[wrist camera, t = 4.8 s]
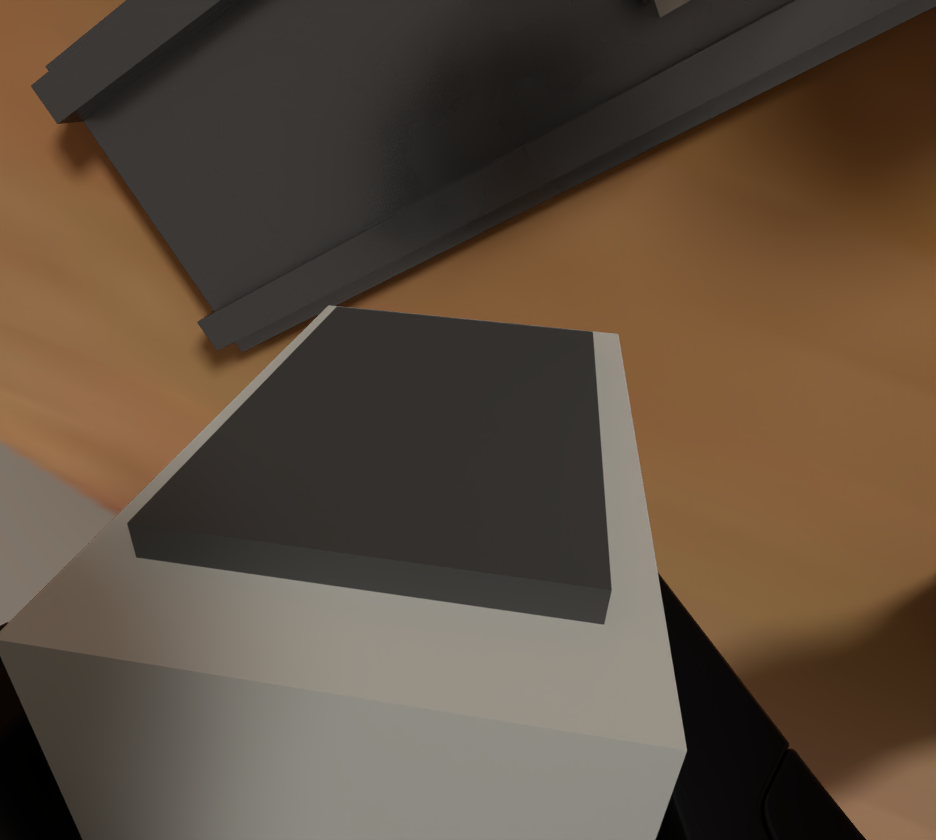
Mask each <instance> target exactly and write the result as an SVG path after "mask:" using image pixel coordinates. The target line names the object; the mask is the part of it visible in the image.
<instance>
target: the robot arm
mask: <svg viewBox="0 0 936 840" xmlns="http://www.w3.org/2000/svg"><path fill="white" fill-rule="evenodd" d="M658 577H659V584H660V590H661V596H662V602H663V608H664V614H665V620H666V626H667V632H668V638H669V644H670V650H671V656H672V662H673V668H674V674H675V680H676V686H677V693H678V699H679V705H680V711H681V717H682V723H683V729H684V735H685V741H686V747H687V752H686V755H685V758H684V761H683V764H682V767H681V769H680V772H679V775H678V778H677V781H676V783H675V786H674V789H673V792H672V795H671V798H670V800H669V803H668V806H667V809H666V812H665V814H664V817H663V820H662V823H661V826H660V829H659V831H658V834H657V837H656V840H866V839H865V838H864V837H863V835H862V834H861V833H860V832H859V831H858V829H857V828H856V827H855V826H854V825H853V823H852V822H851V821H850V820H849V818H848V817H847V816H846V815H845V813H844V812H843V811H842V810H841V808H840V807H839V806H838V805H837V803H836V802H835V801H834V800H833V798H832V797H831V796H830V795H829V793H828V792H827V791H826V790H825V788H824V787H823V786H822V785H821V783H820V782H819V781H818V780H817V778H816V777H815V776H814V774H813V773H812V772H811V771H810V769H809V768H808V767H807V765H806V764H805V763H804V761H803V760H802V759H801V758H800V756H799V755H798V754H797V752H796V751H795V750H794V749H788V747H789V743H788V741H787V740H786V739H785V737H784V736H783V735H782V733H781V732H780V731H779V729H778V728H777V727H776V725H775V724H774V723H773V722H772V720H771V719H770V718H769V716H768V715H767V714H766V712H765V711H764V710H763V709H762V707H761V706H760V705H759V703H758V702H757V701H756V699H755V698H754V697H753V696H752V694H751V693H750V692H749V690H748V689H747V688H746V686H745V685H744V684H743V683H742V681H741V680H740V679H739V677H738V676H737V675H736V673H735V672H734V671H733V669H732V668H731V667H730V666H729V664H728V663H727V662H726V660H725V659H724V658H723V656H722V655H721V654H720V653H719V651H718V650H717V649H716V647H715V646H714V645H713V643H712V642H711V641H710V640H709V638H708V637H707V636H706V634H705V633H704V632H703V630H702V629H701V628H700V627H699V625H698V624H697V623H696V621H695V620H694V619H693V617H692V616H691V615H690V613H689V612H688V611H687V610H686V608H685V607H684V606H683V604H682V603H681V602H680V600H679V599H678V598H677V597H676V595H675V594H674V593H673V591H672V590H671V589H670V587H669V586H668V585H667V584H666V582H665V581H664V580H663V578H662V577H661V576H660V574H659V573H658ZM8 623H9V622H7V623H5V624H3V625H1V626H0V631H1V630H2V629H3V628H4V627H5V626H6V625H7V624H8ZM787 749H788V750H787ZM0 840H82V838H81V835H80V833H79V831H78V829H77V826H76V824H75V822H74V820H73V817H72V815H71V813H70V811H69V809H68V806H67V804H66V802H65V800H64V797H63V795H62V793H61V791H60V788H59V786H58V784H57V782H56V780H55V777H54V775H53V773H52V771H51V768H50V766H49V764H48V762H47V759H46V757H45V755H44V753H43V751H42V748H41V746H40V744H39V742H38V739H37V737H36V735H35V733H34V730H33V728H32V726H31V724H30V722H29V719H28V717H27V715H26V713H25V710H24V708H23V706H22V704H21V702H20V699H19V697H18V695H17V693H16V690H15V688H14V686H13V684H12V681H11V679H10V677H9V675H8V673H7V670H6V668H5V666H4V664H3V661H2V659H1V657H0Z"/></svg>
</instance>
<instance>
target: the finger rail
mask: <svg viewBox="0 0 936 840" xmlns="http://www.w3.org/2000/svg"><path fill="white" fill-rule="evenodd" d="M935 6H936V0H691V1H689V2H687V3H685V4H684V5H682V6H680V7H678V8H677V9H675V10H673V11H671V12H669V13H668V14H666V15H664V16H662V17H661V18H660V16H659V13H658V10H657V7H656V4H655V1H654V0H649V1H648V2H646V3H644V2H643V0H126V1H125V2H124V3H123V4H121V5H120V6H119V7H118V8H116V9H115V10H114V11H113V12H111V13H110V14H109V15H108V16H107V17H105V18H104V19H103V20H102V21H100V22H99V23H98V24H97V25H96V26H94V27H93V28H92V29H91V30H89V31H88V32H87V33H86V34H85V35H83V36H82V37H81V38H80V39H78V40H77V41H76V42H75V43H73V44H72V45H71V46H70V47H69V48H67V49H66V50H65V51H64V52H62V53H61V54H60V55H59V56H58V57H56V58H55V59H54V60H53V61H51V62H50V63H49V64H48V65H47V66H46V68H47V69H48V71H49V72H47V73H46V74H45V75H44V76H42V77H41V78H40V79H39V80H37V81H36V82H35V83H34V84H32V85H31V87H32V88H33V90H34V91H35V93H36V94H37V96H38V97H39V98H40V100H41V101H42V103H43V104H44V105H45V107H46V108H47V110H48V111H49V113H50V114H51V115H52V117H53V118H54V120H55V121H56V123H57V124H62V123H72V122H81V121H83V122H84V123H85V125H86V126H87V127H88V129H89V130H90V132H91V133H92V135H93V136H94V138H95V139H96V141H97V142H98V143H99V145H100V146H101V148H102V149H103V151H104V152H105V154H106V155H107V157H108V158H109V159H110V161H111V162H112V164H113V165H114V167H115V168H116V170H117V171H118V173H119V174H120V175H121V177H122V178H123V180H124V181H125V183H126V184H127V186H128V187H129V189H130V190H131V191H132V193H133V194H134V196H135V197H136V199H137V200H138V202H139V203H140V204H141V206H142V207H143V209H144V210H145V212H146V213H147V215H148V216H149V218H150V219H151V220H152V222H153V223H154V225H155V226H156V228H157V229H158V231H159V232H160V234H161V235H162V236H163V238H164V239H165V241H166V242H167V244H168V245H169V247H170V248H171V250H172V251H173V252H174V254H175V255H176V257H177V258H178V260H179V261H180V263H181V264H182V266H183V267H184V268H185V270H186V271H187V273H188V274H189V276H190V277H191V279H192V280H193V282H194V283H195V284H196V286H197V287H198V289H199V290H200V292H201V293H202V295H203V296H204V298H205V299H206V300H207V302H208V303H209V305H210V306H211V308H212V309H213V312H212V313H210V314H209V315H207V316H206V317H204V318H203V319H201V320H200V321H198V322H197V323H198V324H199V326H200V327H201V329H202V330H203V331H204V333H205V334H206V336H207V337H208V338H209V340H210V341H211V343H212V344H213V346H214V347H215V348H216V350H217V351H218V350H220V349H222V348H224V347H226V346H228V345H230V344H232V343H234V342H235V343H236V344H237V345H238V347H239V348H240V350H241V351H242V352H244V351H246V350H248V349H250V348H252V347H254V346H256V345H258V344H260V343H262V342H264V341H266V340H268V339H270V338H272V337H274V336H276V335H278V334H280V333H282V332H284V331H286V330H288V329H290V328H292V327H294V326H296V325H298V324H300V323H302V322H304V321H306V320H308V319H310V318H312V317H314V316H316V315H318V314H320V313H321V312H322V311H323V310H324V309H325V308H326V307H327V306H328V305H330V306H336V305H338V304H340V303H342V302H344V301H346V300H348V299H350V298H352V297H354V296H356V295H358V294H360V293H362V292H364V291H366V290H368V289H370V288H372V287H374V286H376V285H378V284H380V283H382V282H384V281H386V280H388V279H390V278H392V277H394V276H396V275H398V274H400V273H402V272H404V271H406V270H408V269H410V268H412V267H414V266H416V265H418V264H420V263H422V262H424V261H426V260H428V259H430V258H432V257H434V256H436V255H438V254H440V253H442V252H444V251H446V250H448V249H450V248H452V247H454V246H456V245H458V244H460V243H462V242H464V241H466V240H468V239H470V238H472V237H474V236H476V235H478V234H480V233H482V232H484V231H486V230H488V229H490V228H492V227H494V226H496V225H498V224H500V223H502V222H504V221H506V220H508V219H510V218H512V217H514V216H516V215H518V214H520V213H522V212H524V211H526V210H528V209H530V208H532V207H534V206H536V205H538V204H540V203H542V202H544V201H546V200H548V199H550V198H552V197H554V196H556V195H558V194H560V193H562V192H564V191H566V190H568V189H570V188H572V187H574V186H576V185H578V184H580V183H582V182H584V181H586V180H589V179H591V178H593V177H595V176H597V175H599V174H601V173H603V172H605V171H607V170H609V169H611V168H613V167H615V166H617V165H619V164H621V163H623V162H625V161H627V160H629V159H631V158H633V157H635V156H637V155H639V154H641V153H643V152H645V151H647V150H649V149H651V148H653V147H655V146H657V145H659V144H661V143H663V142H665V141H667V140H669V139H671V138H673V137H675V136H677V135H679V134H681V133H683V132H685V131H687V130H689V129H691V128H693V127H695V126H697V125H699V124H701V123H703V122H705V121H707V120H709V119H711V118H713V117H715V116H717V115H719V114H721V113H723V112H725V111H727V110H729V109H731V108H733V107H735V106H737V105H739V104H741V103H743V102H745V101H747V100H749V99H751V98H753V97H755V96H757V95H759V94H761V93H763V92H765V91H767V90H769V89H771V88H773V87H775V86H777V85H779V84H781V83H783V82H785V81H787V80H789V79H791V78H793V77H795V76H797V75H799V74H801V73H803V72H805V71H807V70H809V69H811V68H813V67H815V66H817V65H819V64H821V63H823V62H825V61H827V60H829V59H831V58H833V57H835V56H837V55H839V54H841V53H843V52H845V51H847V50H849V49H851V48H853V47H855V46H857V45H859V44H861V43H863V42H865V41H867V40H869V39H871V38H873V37H875V36H877V35H879V34H881V33H883V32H885V31H887V30H889V29H891V28H893V27H895V26H897V25H899V24H901V23H903V22H905V21H907V20H909V19H911V18H913V17H915V16H917V15H919V14H921V13H923V12H925V11H927V10H929V9H931V8H933V7H935Z"/></svg>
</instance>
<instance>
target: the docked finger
mask: <svg viewBox="0 0 936 840" xmlns="http://www.w3.org/2000/svg"><path fill="white" fill-rule="evenodd" d="M648 1H649V0H643V2H644V3H646V2H648ZM654 1H655V4H656V7H657V10H658V13H659V16H660V18H661V17H662V16H664V15H666V14H668V13H669V12H671V11H673V10H675V9H677V8H678V7H680V6H682V5H684V4H685V3H687V2H689V1H691V0H654Z"/></svg>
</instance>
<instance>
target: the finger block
mask: <svg viewBox="0 0 936 840" xmlns="http://www.w3.org/2000/svg"><path fill="white" fill-rule="evenodd" d="M0 657H1V659H2V661H3V664H4V666H5V668H6V670H7V673H8V675H9V677H10V679H11V681H12V684H13V686H14V688H15V690H16V693H17V695H18V697H19V699H20V702H21V704H22V706H23V708H24V710H25V713H26V715H27V717H28V719H29V722H30V724H31V726H32V728H33V730H34V733H35V735H36V737H37V739H38V742H39V744H40V746H41V748H42V751H43V753H44V755H45V757H46V759H47V762H48V764H49V766H50V768H51V771H52V773H53V775H54V777H55V780H56V782H57V784H58V786H59V788H60V791H61V793H62V795H63V797H64V800H65V802H66V804H67V806H68V809H69V811H70V813H71V815H72V817H73V820H74V822H75V824H76V826H77V829H78V831H79V833H80V835H81V838H82V840H656V837H657V834H658V831H659V829H660V826H661V823H662V820H663V817H664V814H665V812H666V809H667V806H668V803H669V800H670V798H671V795H672V792H673V789H674V786H675V783H676V781H677V778H678V775H679V772H680V769H681V767H682V764H683V761H684V758H685V755H686V752H687V747H686V741H685V735H684V729H683V723H682V717H681V711H680V705H679V699H678V693H677V686H676V680H675V674H674V668H673V662H672V656H671V650H670V644H669V638H668V632H667V626H666V620H665V614H664V608H663V602H662V596H661V590H660V584H659V577H658V571H657V565H656V559H655V553H654V547H653V541H652V535H651V529H650V523H649V517H648V511H647V505H646V499H645V493H644V487H643V481H642V475H641V468H640V462H639V456H638V450H637V444H636V438H635V432H634V426H633V420H632V414H631V408H630V402H629V396H628V390H627V384H626V378H625V372H624V366H623V359H622V353H621V347H620V341H619V335H618V334H613V333H603V332H593V331H583V330H573V329H562V328H552V327H542V326H532V325H522V324H512V323H502V322H492V321H482V320H472V319H462V318H451V317H441V316H431V315H421V314H411V313H401V312H391V311H381V310H371V309H361V308H351V307H341V306H330V305H328V306H327V307H326V308H325V309H324V310H323V311H322V312H321V313H320V314H319V315H318V316H317V317H316V318H315V319H314V320H313V321H312V322H311V323H310V324H309V325H308V326H307V327H306V328H305V329H304V330H303V331H302V332H301V333H300V334H299V335H298V336H297V337H296V338H295V339H294V340H293V341H292V342H291V343H290V344H289V345H288V346H287V347H286V348H285V349H284V350H283V351H282V352H281V353H280V354H279V355H278V356H277V357H276V358H275V359H274V360H273V361H272V362H271V363H270V364H269V365H268V366H267V367H266V368H265V369H264V370H263V371H262V372H261V373H260V374H259V375H258V376H257V377H256V378H255V379H254V380H253V381H252V382H251V383H250V384H249V385H248V386H247V387H246V388H245V389H244V390H243V391H242V392H241V393H240V394H239V395H238V396H237V397H236V398H235V399H234V400H233V401H232V402H231V403H230V404H229V405H228V406H227V407H226V408H225V409H224V410H223V411H222V412H221V413H220V414H219V415H218V416H217V417H216V418H215V419H214V420H213V421H212V422H210V423H209V424H208V425H207V426H206V427H205V428H204V429H203V430H202V431H201V432H200V433H199V434H198V435H197V436H196V437H195V438H194V439H193V440H192V441H191V442H190V443H189V444H188V445H187V446H186V447H185V448H184V449H183V450H182V451H181V452H180V453H179V454H178V455H177V456H176V457H175V458H174V459H173V460H172V461H171V462H170V463H169V464H168V465H167V466H166V467H165V468H164V469H163V470H162V471H161V472H160V473H159V474H158V475H157V476H156V477H155V478H154V479H153V480H152V481H151V482H150V483H149V484H148V485H147V486H146V487H145V488H144V489H143V490H142V491H141V492H140V493H139V494H138V495H137V496H136V497H135V498H134V499H133V500H132V501H131V502H130V503H129V504H128V505H127V506H126V507H125V508H124V509H123V510H122V511H121V512H120V513H119V514H118V515H117V516H116V517H115V518H114V519H113V520H112V521H111V522H110V523H109V524H108V525H107V526H106V527H105V528H104V529H103V530H102V531H101V532H100V533H99V534H98V535H97V536H96V537H95V538H94V539H93V540H92V541H91V542H90V543H89V544H88V545H87V546H86V547H85V548H84V549H83V550H82V551H81V552H80V553H79V554H78V555H77V556H75V558H73V559H72V561H71V562H70V563H68V565H67V566H66V567H64V569H62V571H60V573H58V575H57V576H56V577H54V578H53V579H52V580H51V581H50V583H48V584H47V585H46V586H45V587H44V588H43V589H42V590H41V591H40V592H39V593H38V594H37V595H36V596H35V597H34V598H33V599H32V600H31V601H30V602H29V603H28V604H27V605H26V606H25V607H24V608H23V609H22V610H21V611H20V612H19V613H18V614H17V615H16V616H15V617H14V618H13V619H12V620H11V621H10V622H9V623H8V624H7V625H6V626H5V627H4V628H3V629H2V630H1V631H0Z"/></svg>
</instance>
